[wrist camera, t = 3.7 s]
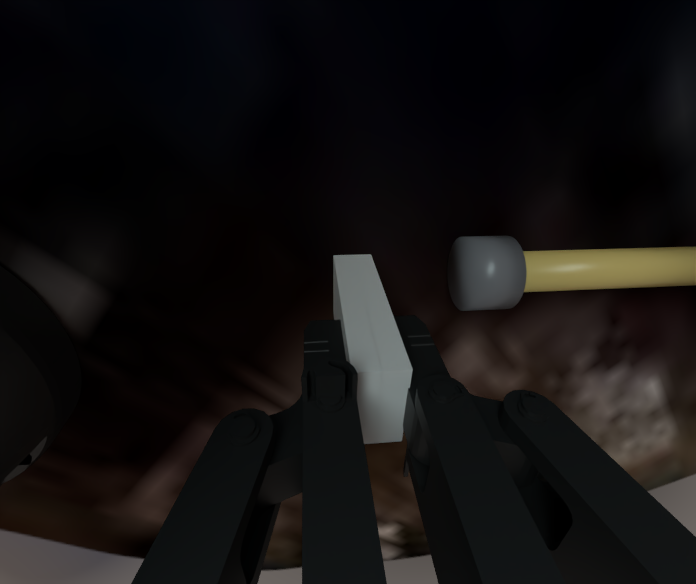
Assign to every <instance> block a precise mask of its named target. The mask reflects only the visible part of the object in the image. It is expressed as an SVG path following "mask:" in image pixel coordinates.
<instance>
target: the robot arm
mask: <svg viewBox="0 0 696 584" xmlns="http://www.w3.org/2000/svg"><path fill="white" fill-rule="evenodd" d="M333 313H334V320H315V321H310V322H309V324H308V325H307V327H306V328H305V330H304V370H303V373H302V377H301V381H302V395H301V397H300V399H299V400H298V401H297V402H296V403H295V404H294V405H293V406H291V407H290V408H288V409H286V410H284V411H282V412H279V413H276V414H273V415H270V416H268V415H267V414H266V413H265V412H264V411H260V410H257V409H241V410H238V411H235V412H232V413H231V414H229V415H228V416H226V417H225V418H223V419H222V420H221V421H220V423H219V424H218V425H217V426H216V428H215V429H214V431H213V433H212V435H211V437H210V439H209V441H208V442H207V444H206V446H205V448H204V450H203V452H202V454H201V455H200V457H199V459H198V461H197V463H196V465H195V467H194V468H193V470H192V472H191V474H190V476H189V478H188V480H187V481H186V483H185V485H184V487H183V489H182V491H181V492H180V494H179V496H178V498H177V500H176V502H175V504H174V505H173V507H172V509H171V511H170V513H169V515H168V517H167V518H166V520H165V522H164V524H163V526H162V528H161V530H160V531H159V533H158V535H157V537H156V539H155V541H154V543H153V544H152V546H151V548H150V550H149V552H148V554H147V555H146V557H145V559H144V561H143V563H142V565H141V567H140V568H139V570H138V572H137V574H136V576H135V578H134V580H133V582H132V583H131V584H257V583H258V579H259V576H260V573H261V569H262V566H263V562H264V559H265V556H266V552H267V549H268V545H269V542H270V538H271V535H272V532H273V528H274V525H275V521H276V518H277V514H278V511H279V508H280V504H281V501H283V500H285V499H288V498H290V497H292V496H295V495H297V494H299V493H301V492H303V504H302V584H387V583H386V577H385V570H384V565H383V558H382V552H381V546H380V540H379V533H378V527H377V521H376V515H375V509H374V502H373V496H372V490H371V484H370V478H369V472H368V465H367V459H366V453H365V447H364V444H372V443H385V442H398V441H402V436H403V430H404V432H405V436H406V439H407V443H408V444H407V450H406V456H405V462H404V468H403V472H404V477H407V476H408V472H409V471H410V475H411V479H412V483H413V487H414V490H415V494H416V498H417V502H418V506H419V510H420V514H421V518H422V521H423V525H424V529H425V533H426V537H427V541H428V545H429V548H430V552H431V556H432V560H433V564H434V568H435V572H436V575H437V579H438V583H439V584H696V537H695V536H694V535H693V534H692V533H691V532H690V531H689V530H687V528H686V527H684V526H683V525H682V524H681V523H680V522H679V521H678V520H677V519H676V518H675V517H674V516H673V515H672V514H671V513H670V512H668V511H667V510H666V509H665V508H664V507H663V506H662V505H661V504H660V503H659V502H658V501H657V500H656V499H655V498H654V497H653V496H651V495H650V494H649V493H648V492H647V491H646V490H645V489H644V488H643V487H642V486H641V485H640V484H639V483H638V482H637V481H636V480H634V479H633V478H632V477H631V476H630V475H629V474H628V473H627V472H626V471H625V470H624V469H623V468H622V467H621V466H620V465H618V464H617V463H616V462H615V461H614V460H613V459H612V458H611V457H610V456H609V455H608V454H607V453H606V452H605V451H604V450H603V449H601V448H600V447H599V446H598V445H597V444H596V443H595V442H594V441H593V440H592V439H591V438H590V437H589V436H588V435H587V434H586V433H584V432H583V431H582V430H581V429H580V428H579V427H578V426H577V425H576V424H575V423H574V422H573V421H572V420H571V419H570V418H568V417H567V416H566V415H565V414H564V413H563V412H562V411H561V410H560V409H559V408H558V407H557V406H556V405H555V404H554V403H552V402H551V401H549V400H548V399H547V398H545V397H544V396H542V395H539V394H537V393H535V392H532V391H526V390H515V391H512V392H510V393H508V394H506V396H505V398H504V400H503V402H502V401H497V400H492V399H487V398H482V397H478V396H474V395H472V394H470V393H469V392H468V391H467V389H466V388H465V387H464V385H463V384H461V383H460V382H458V381H457V380H455V379H453V378H451V377H450V375H449V373H448V371H447V369H446V367H445V365H444V362H443V360H442V358H441V356H440V354H439V352H438V350H437V348H436V346H435V345H434V342H433V339H432V337H430V333H429V331H428V329H427V327H426V325H425V324H424V323H423V322H422V321H421V320H420V319H419V318H417V317H416V316H415V315H411V316H393V314H392V311H391V308H390V305H389V303H388V300H387V297H386V294H385V292H384V289H383V286H382V283H381V281H380V278H379V275H378V272H377V270H376V267H375V264H374V261H373V259H372V256H371V254H365V255H333ZM81 382H82V378H81V369H80V364H79V360H78V357H77V354H76V351H75V349H74V347H73V344H72V342H71V340H70V339H69V337H68V335H67V333H66V332H65V330H64V329H63V327H62V325H61V324H60V323H59V321H58V320H57V319H56V317H55V316H54V315H53V313H52V312H51V311H50V310H49V309H48V308H47V306H46V305H45V304H44V303H43V302H42V301H41V300H40V299H39V298H38V297H37V296H36V295H35V294H34V293H33V292H32V291H31V290H30V289H29V288H28V287H26V286H25V285H24V284H23V283H22V282H21V281H19V280H18V279H17V278H16V277H15V276H13V275H12V274H11V273H9V272H8V271H7V270H5V269H4V268H3V267H1V266H0V486H1V485H2V484H3V483H4V482H6V481H8V480H11V479H12V478H14V477H16V476H17V475H19V474H20V473H22V472H23V471H25V470H26V469H27V468H28V467H29V466H30V465H32V464H33V463H34V462H35V461H36V460H38V459H39V457H40V456H41V455H42V454H43V453H44V452H45V451H46V450H47V449H48V448H49V446H50V445H51V444H52V442H53V441H54V439H55V438H56V436H57V435H58V433H59V432H60V430H61V429H62V428H63V426H64V425H65V423H66V422H67V420H68V419H69V417H70V416H71V414H72V413H73V411H74V409H75V407H76V405H77V403H78V400H79V397H80V393H81Z"/></svg>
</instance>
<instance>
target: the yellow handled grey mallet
mask: <svg viewBox="0 0 696 584" xmlns="http://www.w3.org/2000/svg"><path fill="white" fill-rule="evenodd" d="M447 279H448V287H449V292H450V295H451V298H452V301H453V303H454V304H455V306H456V307H457V308H458V309H459V310H461V311H471V310H493V309H510V308H512V307H514V306H515V305H516V304H517V303H518V302H519V301H520V299H521V297H522V295H523V292H540V291H565V290H590V289H614V288H639V287H664V286H688V285H695V286H696V247H663V248H628V249H592V250H557V251H523V250H522V248H521V246H520V245H519V243H518V242H517V241H516V240H515V239H514V238H513V237H511V236H471V237H459V238H458V239H456V240H455V242H454V243H453V245H452V247H451V250H450V253H449V258H448V266H447Z"/></svg>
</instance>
